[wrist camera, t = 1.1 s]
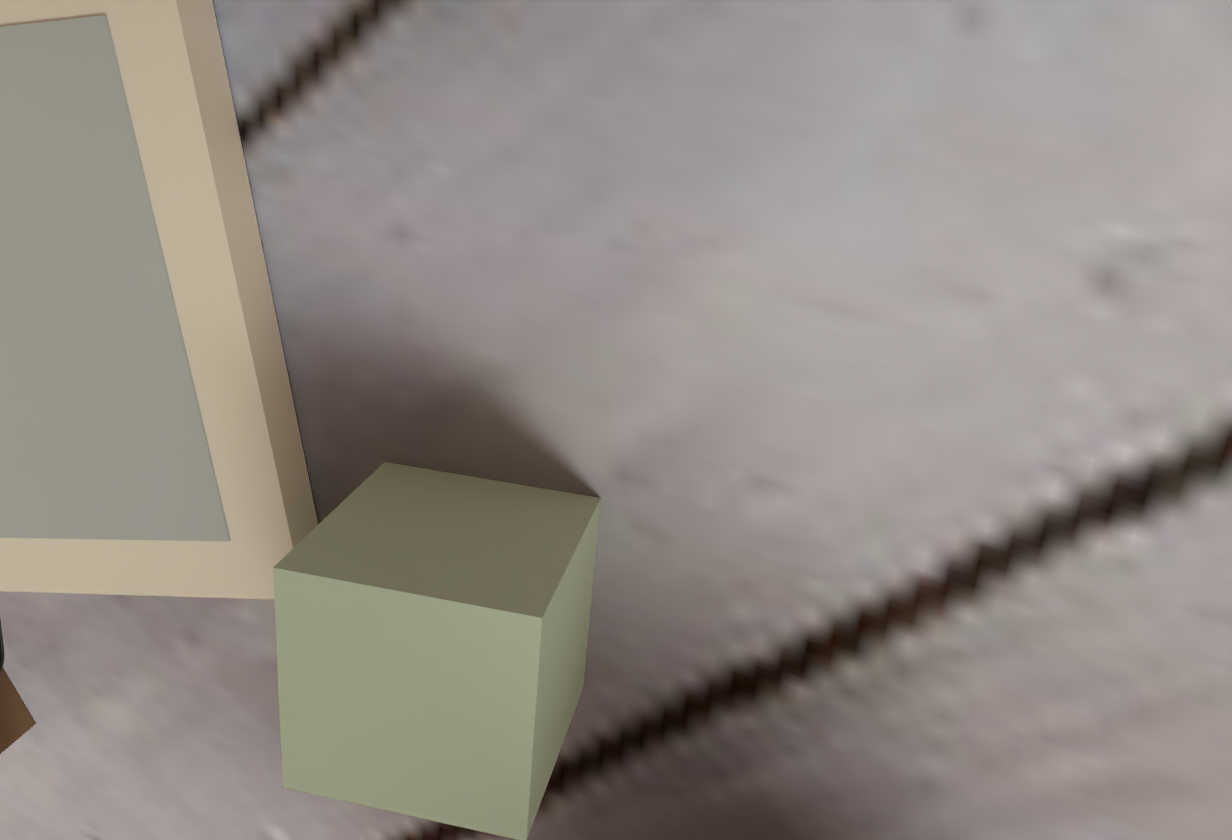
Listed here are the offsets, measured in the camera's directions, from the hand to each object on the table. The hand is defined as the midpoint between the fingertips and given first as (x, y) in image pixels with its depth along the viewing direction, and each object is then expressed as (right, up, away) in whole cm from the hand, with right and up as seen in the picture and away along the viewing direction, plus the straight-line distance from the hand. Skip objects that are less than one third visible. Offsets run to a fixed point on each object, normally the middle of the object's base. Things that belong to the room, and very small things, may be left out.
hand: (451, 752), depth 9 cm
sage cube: (-1, -1, +14) cm, 14 cm away
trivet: (-13, +6, +14) cm, 19 cm away
